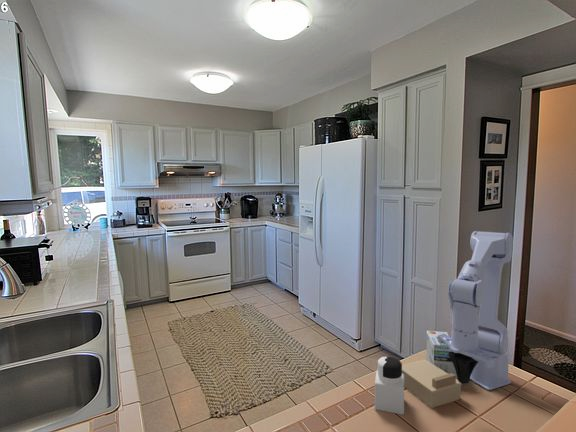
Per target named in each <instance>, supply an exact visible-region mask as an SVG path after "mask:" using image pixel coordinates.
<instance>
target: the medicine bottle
mask: <svg viewBox="0 0 576 432" xmlns="http://www.w3.org/2000/svg"><path fill="white" fill-rule="evenodd" d="M402 365H403V364H402V362H401V361H400V360H399V359H398V358H397V357H396V358H395V357H394V356H381V357H380V358H379V359H378V360H377V369H376V373H375V381H374V409H375V410H376V411H383V412H387V413H392V414H397V415H402V416H404V414H405V387H404V374H402Z"/></svg>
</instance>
